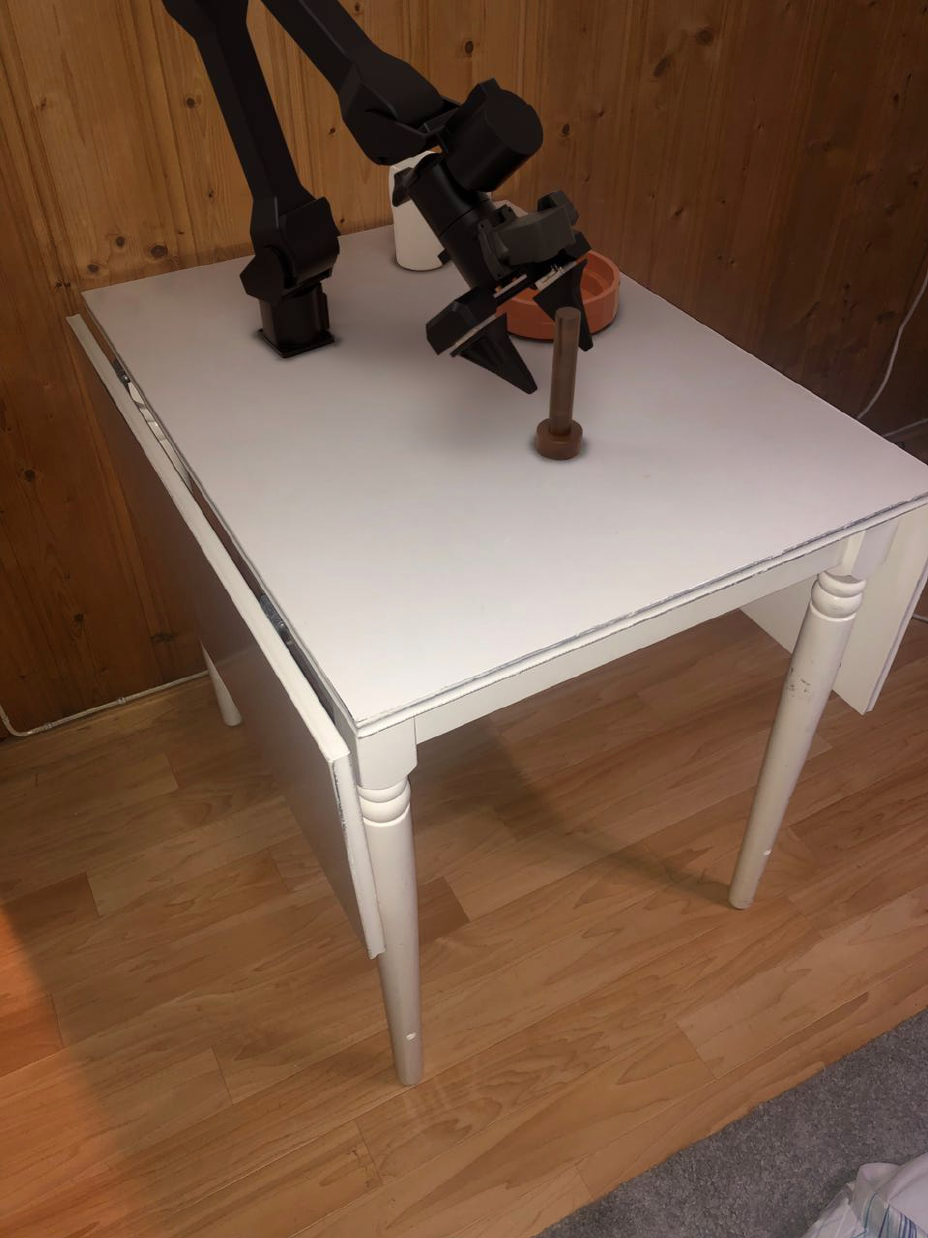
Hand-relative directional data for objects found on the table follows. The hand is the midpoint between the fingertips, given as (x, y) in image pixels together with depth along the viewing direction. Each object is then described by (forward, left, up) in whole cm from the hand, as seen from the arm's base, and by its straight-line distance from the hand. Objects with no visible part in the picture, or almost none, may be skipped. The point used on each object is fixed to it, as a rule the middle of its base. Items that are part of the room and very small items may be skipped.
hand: (562, 370), depth 92 cm
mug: (+11, +43, -8) cm, 45 cm away
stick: (0, 0, -8) cm, 8 cm away
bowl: (+16, +22, -8) cm, 28 cm away
